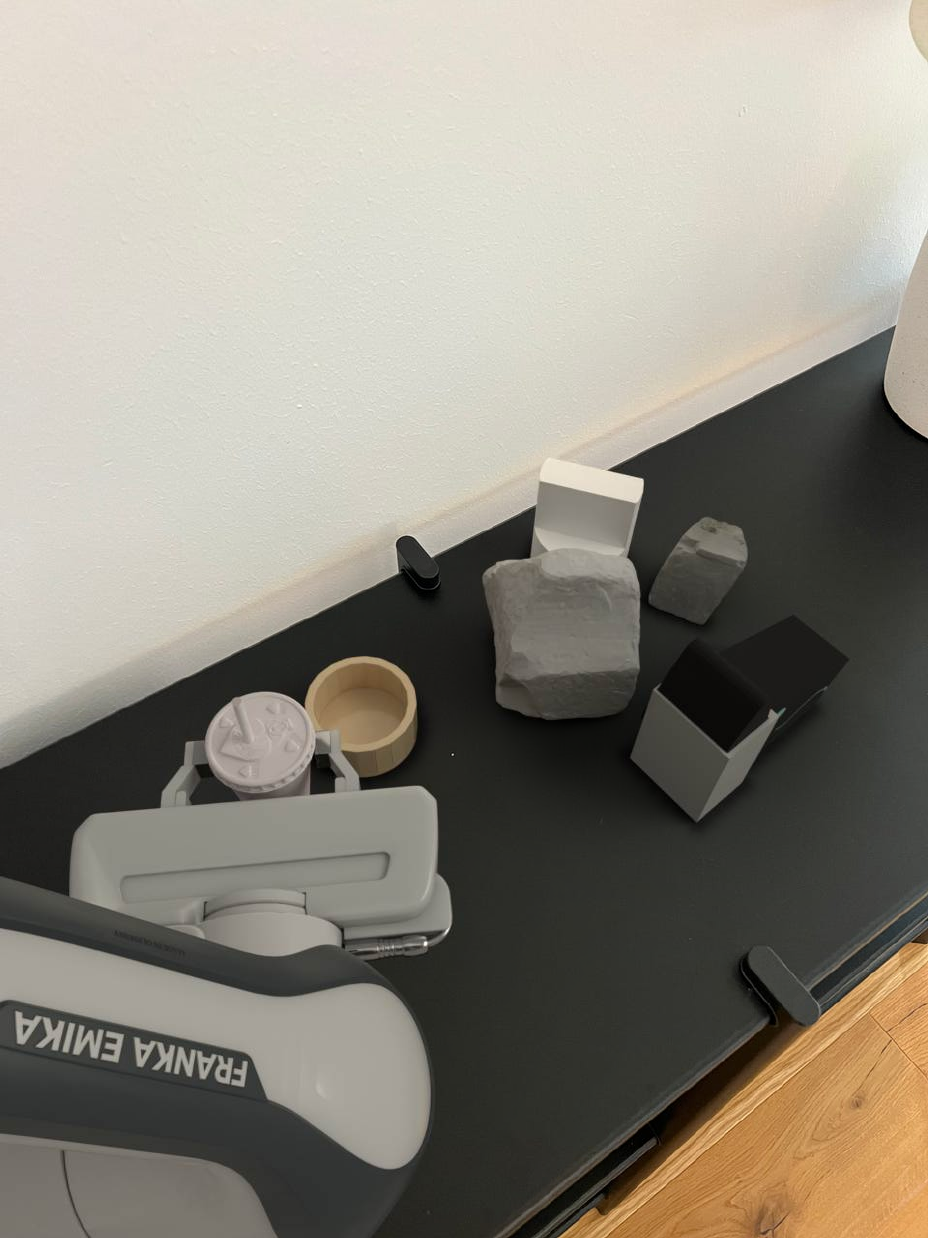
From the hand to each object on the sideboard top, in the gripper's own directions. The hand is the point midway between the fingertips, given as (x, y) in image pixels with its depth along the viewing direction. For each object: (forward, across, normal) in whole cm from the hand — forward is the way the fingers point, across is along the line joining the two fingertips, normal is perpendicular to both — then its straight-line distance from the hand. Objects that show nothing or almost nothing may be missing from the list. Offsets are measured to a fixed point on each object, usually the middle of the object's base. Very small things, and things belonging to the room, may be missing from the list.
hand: (264, 739), depth 58 cm
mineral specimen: (+23, -37, +20) cm, 48 cm away
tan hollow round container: (+12, -5, +20) cm, 24 cm away
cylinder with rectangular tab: (+27, -26, +20) cm, 43 cm away
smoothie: (-1, 0, +8) cm, 8 cm away
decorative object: (+9, -37, +20) cm, 43 cm away
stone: (+16, -22, +20) cm, 34 cm away
